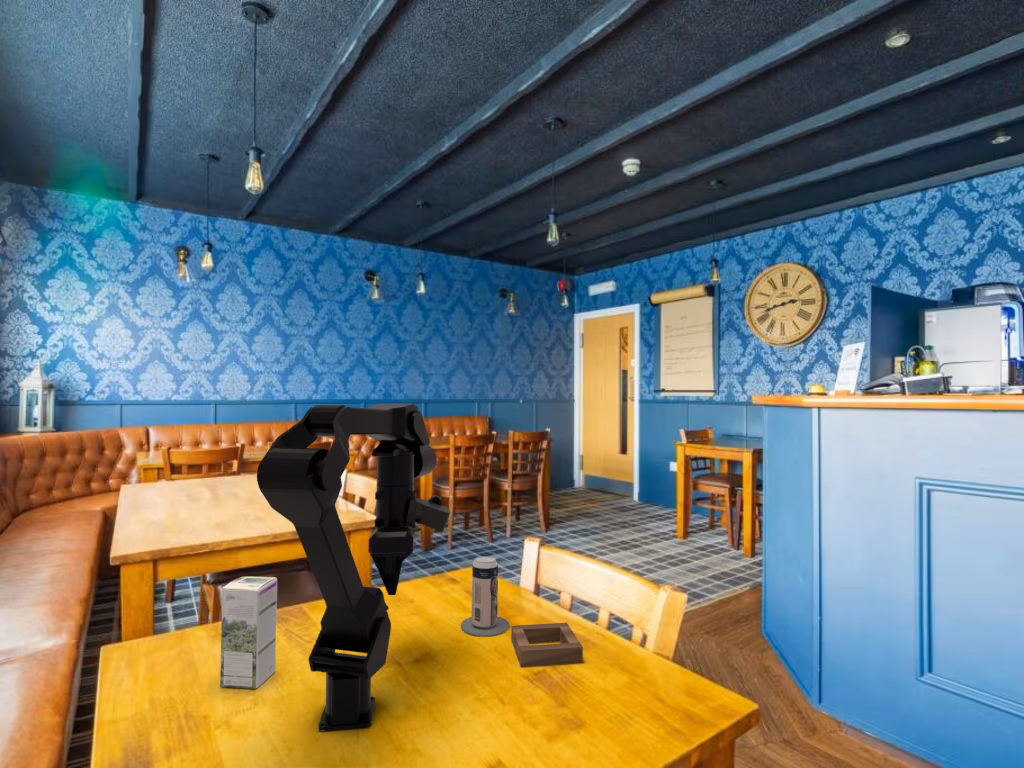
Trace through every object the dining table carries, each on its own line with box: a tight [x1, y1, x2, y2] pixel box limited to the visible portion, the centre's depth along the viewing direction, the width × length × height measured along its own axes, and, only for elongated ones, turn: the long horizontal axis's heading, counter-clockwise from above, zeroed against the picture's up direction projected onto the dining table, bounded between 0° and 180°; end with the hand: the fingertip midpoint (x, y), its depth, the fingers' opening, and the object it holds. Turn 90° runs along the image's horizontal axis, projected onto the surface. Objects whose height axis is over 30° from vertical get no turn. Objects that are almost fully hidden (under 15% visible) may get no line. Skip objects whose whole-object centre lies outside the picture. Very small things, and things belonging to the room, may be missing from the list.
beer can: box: [471, 555, 499, 629], centre depth 102 cm, size 5×5×12 cm
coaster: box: [460, 615, 510, 638], centre depth 102 cm, size 9×9×1 cm
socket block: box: [510, 622, 584, 668], centre depth 92 cm, size 10×10×2 cm
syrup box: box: [219, 575, 278, 690], centre depth 82 cm, size 6×6×14 cm
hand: (394, 584), depth 86 cm, fingers open, 9 cm apart
